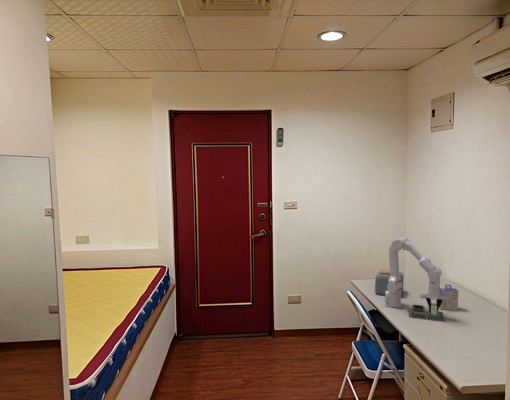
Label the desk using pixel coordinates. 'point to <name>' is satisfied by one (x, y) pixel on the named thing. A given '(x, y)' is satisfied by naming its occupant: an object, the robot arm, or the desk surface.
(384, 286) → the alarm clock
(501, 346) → the desk surface
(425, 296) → the robot arm
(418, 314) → the jack panel
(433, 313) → the plug
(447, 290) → the ink cartridge box
